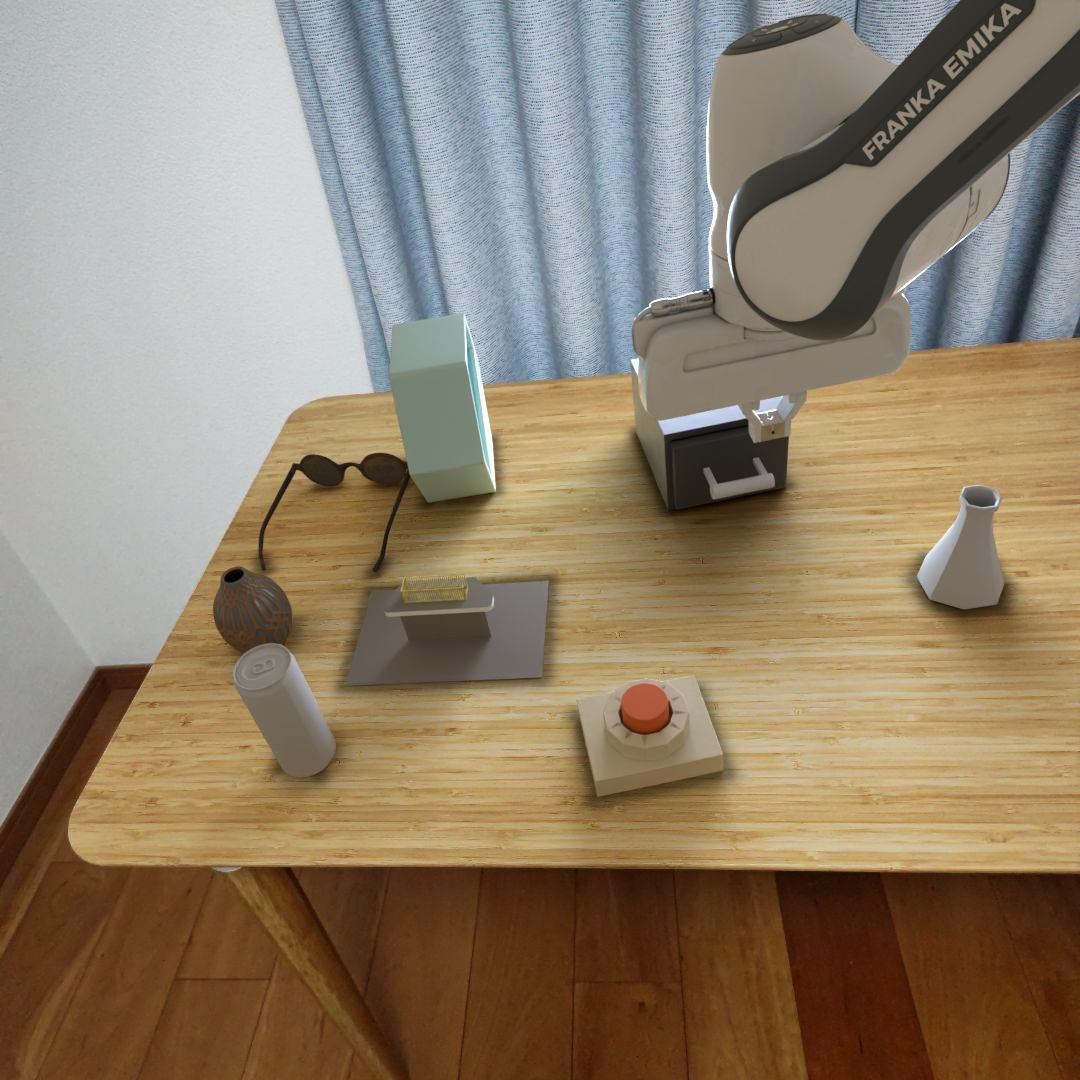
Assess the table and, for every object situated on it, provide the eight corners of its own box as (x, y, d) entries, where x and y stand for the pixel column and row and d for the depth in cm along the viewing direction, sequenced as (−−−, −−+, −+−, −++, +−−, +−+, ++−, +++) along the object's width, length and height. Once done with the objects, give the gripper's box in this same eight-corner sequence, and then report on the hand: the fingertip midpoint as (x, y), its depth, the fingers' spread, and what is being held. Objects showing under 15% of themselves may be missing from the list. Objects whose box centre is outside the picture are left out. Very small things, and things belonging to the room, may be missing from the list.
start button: (662, 692, 71) (661, 678, 70) (674, 728, 69) (673, 715, 68) (618, 701, 71) (616, 687, 70) (628, 738, 69) (626, 724, 68)
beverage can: (278, 745, 77) (227, 655, 69) (332, 724, 78) (288, 633, 70) (286, 789, 74) (233, 700, 66) (342, 767, 75) (297, 676, 67)
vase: (315, 621, 88) (286, 557, 82) (272, 674, 84) (238, 610, 78) (260, 606, 91) (228, 542, 85) (216, 656, 86) (179, 593, 80)
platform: (371, 590, 90) (353, 543, 86) (548, 580, 88) (539, 531, 83) (345, 685, 81) (324, 638, 77) (542, 677, 79) (531, 627, 74)
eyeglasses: (419, 482, 102) (409, 447, 99) (384, 574, 92) (372, 538, 88) (301, 484, 105) (287, 449, 102) (253, 573, 95) (236, 538, 91)
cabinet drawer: (800, 513, 89) (804, 450, 83) (687, 536, 88) (685, 474, 83) (743, 415, 102) (744, 355, 97) (645, 435, 101) (640, 376, 96)
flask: (918, 608, 79) (936, 523, 72) (914, 551, 84) (930, 467, 77) (1009, 615, 77) (1036, 528, 70) (999, 556, 82) (1023, 470, 75)
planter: (501, 506, 104) (478, 443, 84) (435, 516, 104) (397, 456, 84) (483, 374, 109) (457, 284, 89) (419, 384, 109) (379, 297, 89)
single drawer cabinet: (786, 486, 93) (790, 409, 87) (667, 510, 93) (663, 435, 87) (741, 410, 104) (743, 337, 98) (635, 431, 104) (630, 359, 97)
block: (695, 691, 76) (693, 660, 73) (723, 770, 70) (723, 740, 67) (578, 715, 75) (573, 685, 73) (597, 797, 69) (592, 768, 67)
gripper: (638, 327, 61) (652, 484, 70) (933, 267, 61) (907, 432, 70) (620, 286, 66) (635, 439, 75) (893, 231, 66) (874, 390, 75)
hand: (769, 435), depth 73 cm, fingers closed
